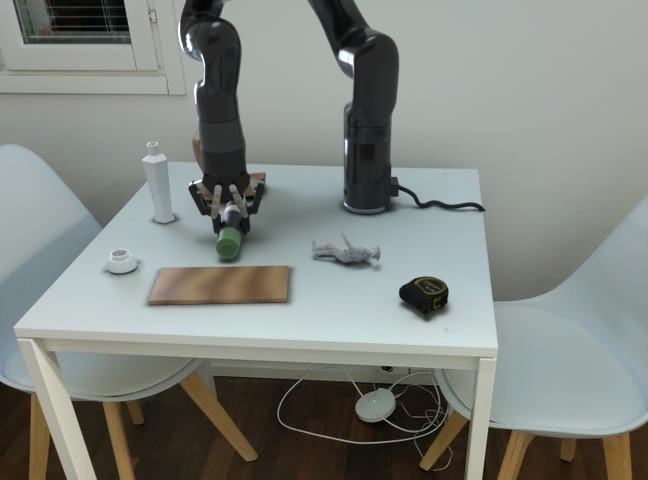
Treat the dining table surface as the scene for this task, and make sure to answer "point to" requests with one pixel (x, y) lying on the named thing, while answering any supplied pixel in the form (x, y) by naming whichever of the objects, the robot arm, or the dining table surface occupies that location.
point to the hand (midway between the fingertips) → (232, 234)
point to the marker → (230, 232)
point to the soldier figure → (347, 251)
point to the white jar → (121, 261)
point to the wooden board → (220, 285)
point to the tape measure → (425, 294)
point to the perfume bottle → (158, 183)
